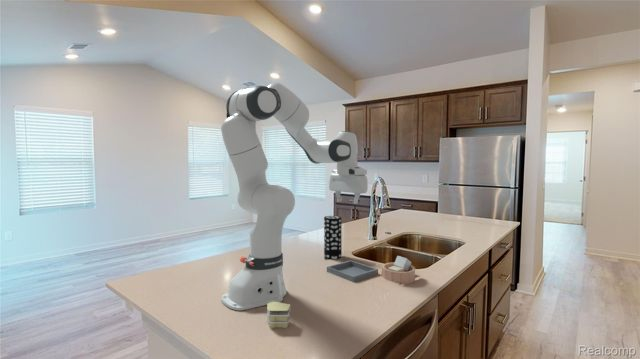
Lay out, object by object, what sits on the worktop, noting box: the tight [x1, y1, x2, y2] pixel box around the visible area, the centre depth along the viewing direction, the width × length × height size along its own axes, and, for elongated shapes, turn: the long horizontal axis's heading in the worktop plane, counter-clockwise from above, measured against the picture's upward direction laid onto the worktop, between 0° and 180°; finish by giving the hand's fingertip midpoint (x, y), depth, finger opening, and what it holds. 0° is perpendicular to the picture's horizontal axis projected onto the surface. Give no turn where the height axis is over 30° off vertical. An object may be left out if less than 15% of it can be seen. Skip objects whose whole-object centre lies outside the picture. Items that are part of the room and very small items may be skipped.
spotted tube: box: [323, 215, 343, 261], centre depth 159 cm, size 8×8×20 cm
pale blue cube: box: [394, 255, 412, 272], centre depth 134 cm, size 4×4×4 cm
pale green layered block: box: [266, 302, 292, 329], centre depth 96 cm, size 10×9×6 cm
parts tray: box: [326, 260, 379, 283], centre depth 137 cm, size 14×16×3 cm
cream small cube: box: [388, 266, 404, 272], centre depth 131 cm, size 4×4×4 cm
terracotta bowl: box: [381, 261, 416, 285], centre depth 132 cm, size 13×13×4 cm
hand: (347, 202), depth 142 cm, fingers open, 8 cm apart
